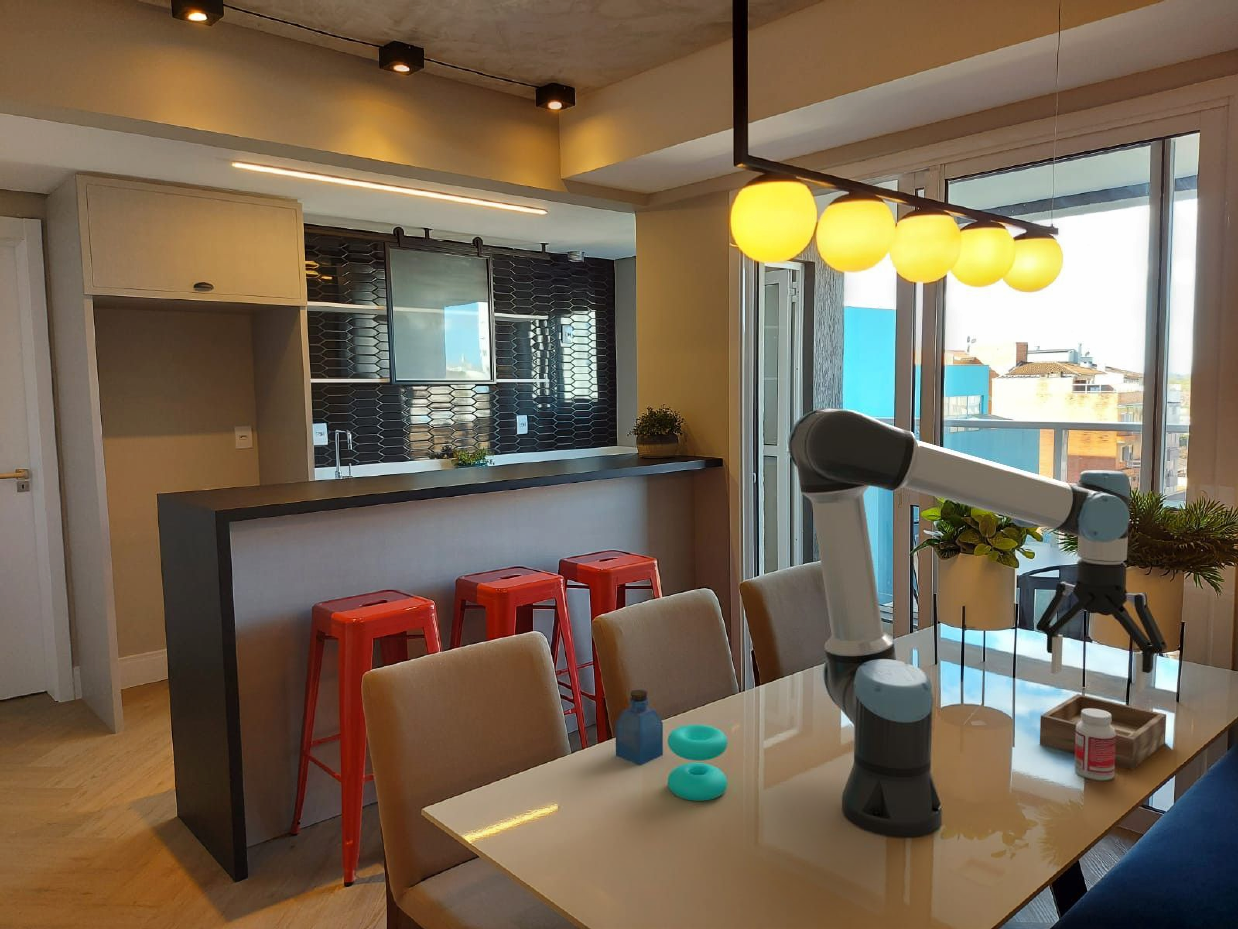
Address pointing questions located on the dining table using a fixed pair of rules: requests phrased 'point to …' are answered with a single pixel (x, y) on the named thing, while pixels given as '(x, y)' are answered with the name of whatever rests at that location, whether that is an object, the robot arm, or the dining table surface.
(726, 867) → the dining table surface
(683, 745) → the donuts
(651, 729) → the perfume bottle
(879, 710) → the robot arm
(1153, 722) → the wooden box
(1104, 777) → the pill bottle
